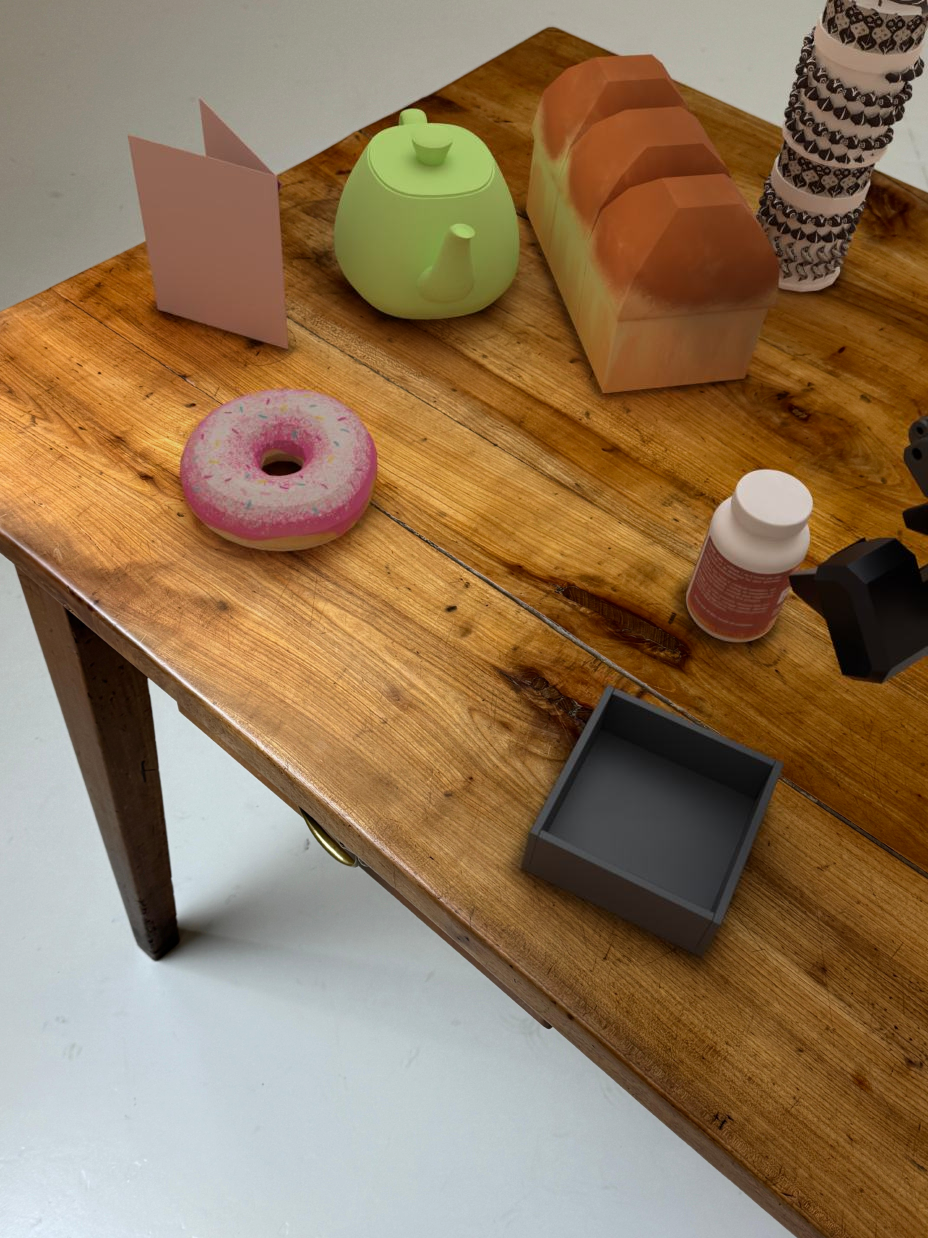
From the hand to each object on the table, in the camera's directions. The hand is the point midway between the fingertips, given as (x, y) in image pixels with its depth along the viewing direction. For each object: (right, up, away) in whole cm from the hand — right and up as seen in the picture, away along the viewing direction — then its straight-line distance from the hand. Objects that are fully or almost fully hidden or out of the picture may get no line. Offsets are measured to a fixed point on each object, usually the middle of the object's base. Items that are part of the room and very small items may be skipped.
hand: (850, 549), depth 67 cm
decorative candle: (+7, +27, +37) cm, 46 cm away
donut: (-35, +5, +16) cm, 39 cm away
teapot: (-25, +23, +31) cm, 46 cm away
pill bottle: (-4, -3, +13) cm, 14 cm away
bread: (-8, +24, +33) cm, 41 cm away
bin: (-11, -17, +2) cm, 20 cm away
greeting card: (-41, +20, +27) cm, 53 cm away
